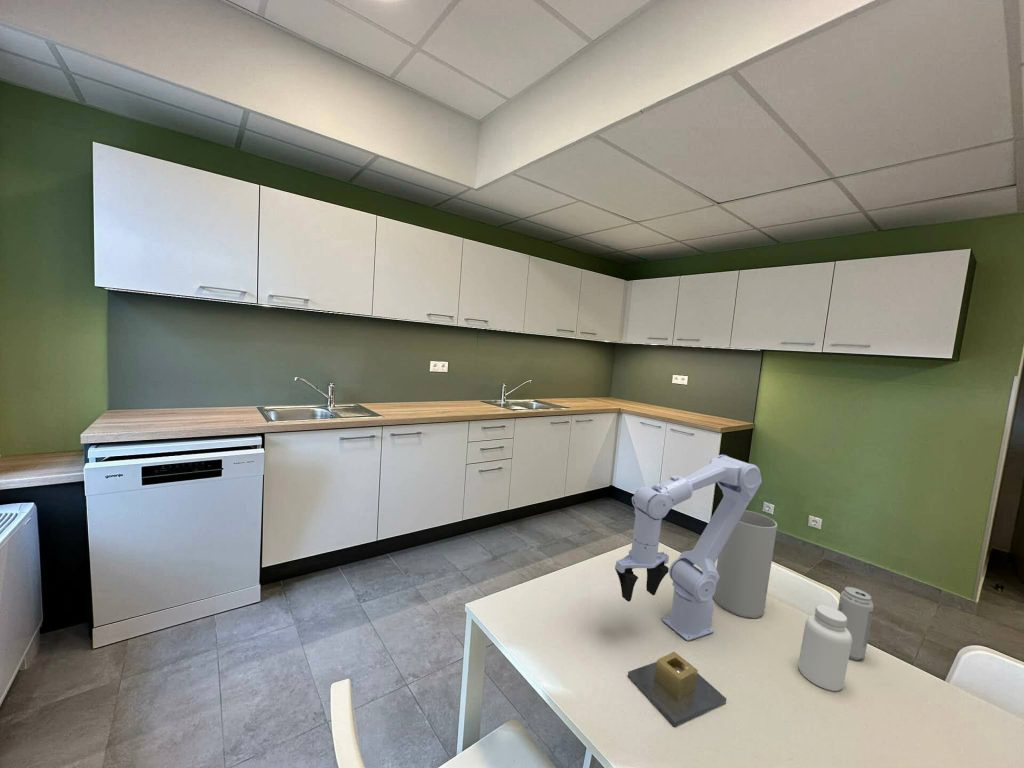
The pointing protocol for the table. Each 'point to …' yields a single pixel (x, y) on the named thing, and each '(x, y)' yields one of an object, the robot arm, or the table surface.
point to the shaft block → (668, 704)
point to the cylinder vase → (746, 566)
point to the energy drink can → (857, 618)
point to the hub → (676, 675)
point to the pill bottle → (825, 648)
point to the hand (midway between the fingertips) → (638, 595)
